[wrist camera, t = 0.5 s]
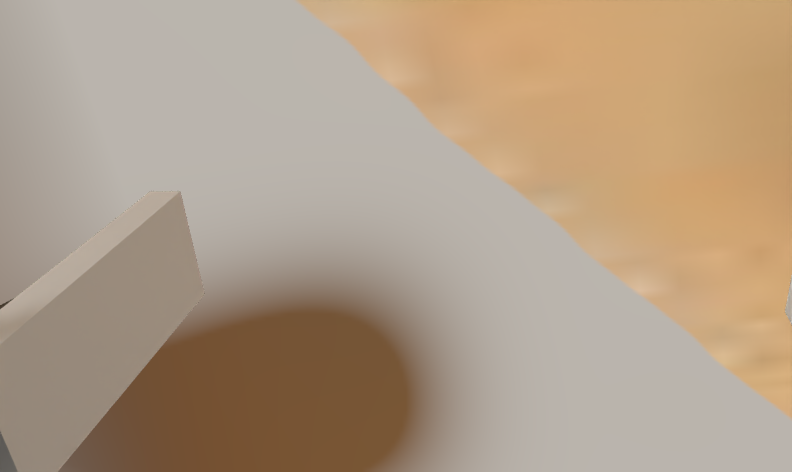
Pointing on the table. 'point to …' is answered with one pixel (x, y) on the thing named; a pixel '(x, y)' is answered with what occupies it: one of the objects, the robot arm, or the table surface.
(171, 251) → the robot arm
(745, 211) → the table surface
